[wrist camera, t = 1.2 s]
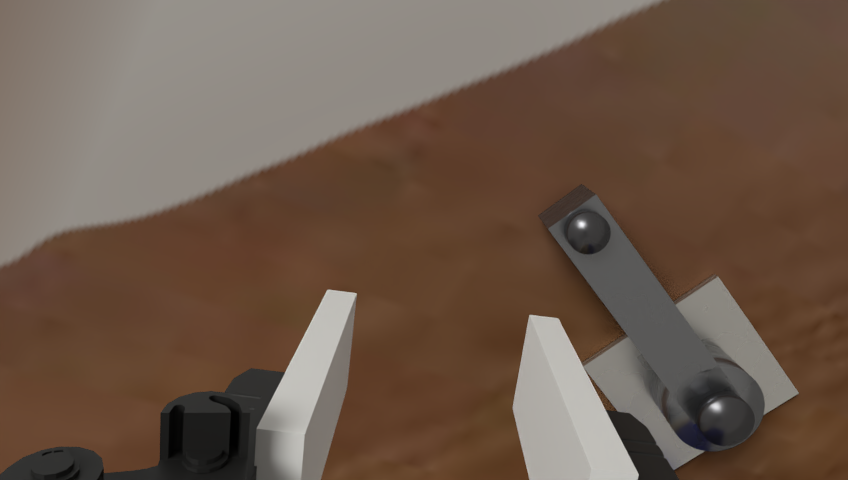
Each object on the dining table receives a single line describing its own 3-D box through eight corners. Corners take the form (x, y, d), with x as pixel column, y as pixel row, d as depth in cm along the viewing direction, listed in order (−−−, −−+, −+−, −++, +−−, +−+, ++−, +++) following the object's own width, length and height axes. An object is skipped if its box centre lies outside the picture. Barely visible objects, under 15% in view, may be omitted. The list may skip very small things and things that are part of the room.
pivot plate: (664, 470, 34) (698, 528, 29) (581, 363, 32) (604, 407, 28) (794, 389, 32) (850, 437, 28) (714, 274, 31) (760, 306, 26)
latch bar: (753, 390, 32) (791, 427, 28) (679, 436, 32) (708, 477, 29) (598, 171, 29) (620, 183, 25) (521, 227, 30) (532, 246, 26)
